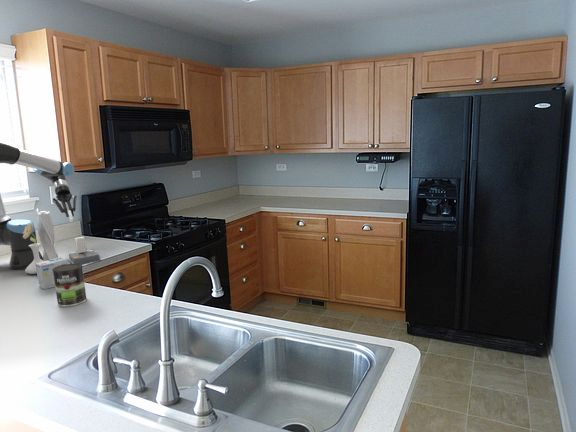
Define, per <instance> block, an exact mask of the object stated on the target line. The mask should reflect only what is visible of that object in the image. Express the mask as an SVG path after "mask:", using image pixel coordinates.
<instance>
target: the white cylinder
mask: <svg viewBox="0 0 576 432" xmlns="http://www.w3.org/2000/svg"><path fill="white" fill-rule="evenodd" d="M74 240H75V247H76V248H75V249H76V253H77V252H78V253H83V252H87V246H86V239H85V236H80V237H79V236H78V237H74Z"/></svg>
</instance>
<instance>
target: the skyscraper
mask: <svg viewBox="0 0 576 432" xmlns="http://www.w3.org/2000/svg"><path fill="white" fill-rule="evenodd" d="M50 212H51V211H50V210H48V211H47V210H42V211H39V208H36V215H37V219H36V220H37V221H36V222H37V223H36V224H37V225H36V227H37V233H38V237H39V241H40V244H41V246H42V248H43V251H42V254H43V255H42V257H43V259H44V261H48V260H52V259H56V258H59V256H58V253H57V251H56V249H55V239H56V237H55V236H56V233H55V231H56V230H55V225H54V222H53V219H52V217H51V213H50Z"/></svg>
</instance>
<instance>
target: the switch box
mask: <svg viewBox="0 0 576 432" xmlns="http://www.w3.org/2000/svg"><path fill="white" fill-rule="evenodd" d="M86 251H87V252H83V253H78V252H77V251H76V252H72V253H68V258H69V259H68V260H69V261H70V262H71V264H73V263H78V264H82V265H83V264H87V263H92V262H97V261H100V254H99V253H98V252H97V251H96V250H94V249H88V250H87V249H86Z"/></svg>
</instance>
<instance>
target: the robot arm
mask: <svg viewBox="0 0 576 432" xmlns="http://www.w3.org/2000/svg"><path fill="white" fill-rule="evenodd" d="M62 162H63V161H59V160H56V159H53V158H49V157H46V156H43V155H40V154H37V153H33V152H30V151H26V150H23V149H20V147H18V146H17V145H14V144H11V143H7V142H5V141H1V140H0V164H7V165H10V166H13V165H20V166H23V167H26V168H27V167H28V168H31V169H32V170H33V172H34V173H36V174H37V175H40V176H42V177H44V178H46V179H47V180H50V181H51V182H52V185H53V190H54V192H55V195H56V196H55V197H54V198H52V203H54V204H55V205H56V206H57V208H58V210H59V211H60V213H62V214H63V213H64V214H65V217H66V218H68V220H69V222H70V223H73V222H74V216H75V214H74V212H76V209H77V207H76V201H77V199H78V196H77V195H73V194H72V193H71V191H70V187H69V184H68V182H67V178H66V177H68V176H70V177H71V176H72V175H73V174H74V173H75V166H74V164H73V163H71V162H66V161H64V163H62ZM71 199H72V204H73V205H72V204H71ZM61 204H62V205H61ZM5 209H6V208H5V206H4V202H3V199H2V195H1V193H0V246H10V251H11V254H10V255H11V256H10V260H9V269H10V270H12V271H13V270H15V271H18V270H25V269H26V268H27V267H28V266H29V265H30V264H31V263H32V262H33V260H34V254H33V251H32V249H31V248H30V247H29V245H31V244H34V242H33V241H31V240H30V238H31V237H32V238H34V236H35V238H34V239H36V243H38V241H37V239H38V238H37V233H36V227H35V224H34V222H33V221H32V220H29V219H12V217H11V216H9V215H8V214H7V213H6V210H5ZM28 223H29V224H30V223H32V224H33V229H32V233H33V235H34V236H33V235H32V234H30V235H29V237H28V238H26V239H24V238H23V235H24V234H23V232H24V229H25V226H26V227H27V225H28ZM39 257H40V259H41V260H43V261H44V259H43V255H42V253H41V251H40V250H39Z"/></svg>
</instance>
